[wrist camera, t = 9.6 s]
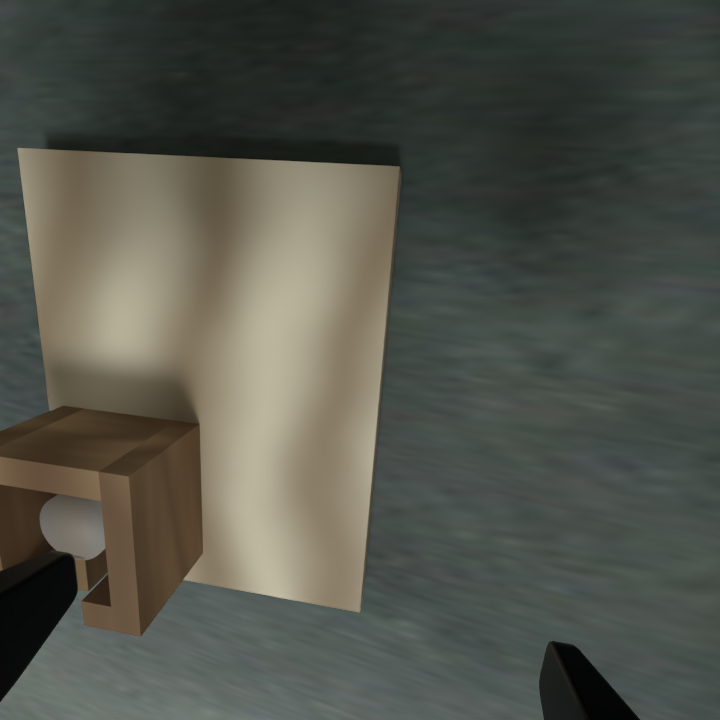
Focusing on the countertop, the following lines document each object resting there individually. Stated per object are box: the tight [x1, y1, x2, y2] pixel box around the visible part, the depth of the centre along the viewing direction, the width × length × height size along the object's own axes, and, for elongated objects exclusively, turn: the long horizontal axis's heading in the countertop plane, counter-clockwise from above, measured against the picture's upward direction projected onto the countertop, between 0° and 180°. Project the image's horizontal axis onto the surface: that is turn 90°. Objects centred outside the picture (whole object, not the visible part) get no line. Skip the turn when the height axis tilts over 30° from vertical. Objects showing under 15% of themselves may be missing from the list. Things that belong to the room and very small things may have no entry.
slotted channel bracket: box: [0, 406, 203, 637], centre depth 17 cm, size 7×7×4 cm
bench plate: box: [18, 148, 402, 612], centre depth 17 cm, size 15×19×5 cm
